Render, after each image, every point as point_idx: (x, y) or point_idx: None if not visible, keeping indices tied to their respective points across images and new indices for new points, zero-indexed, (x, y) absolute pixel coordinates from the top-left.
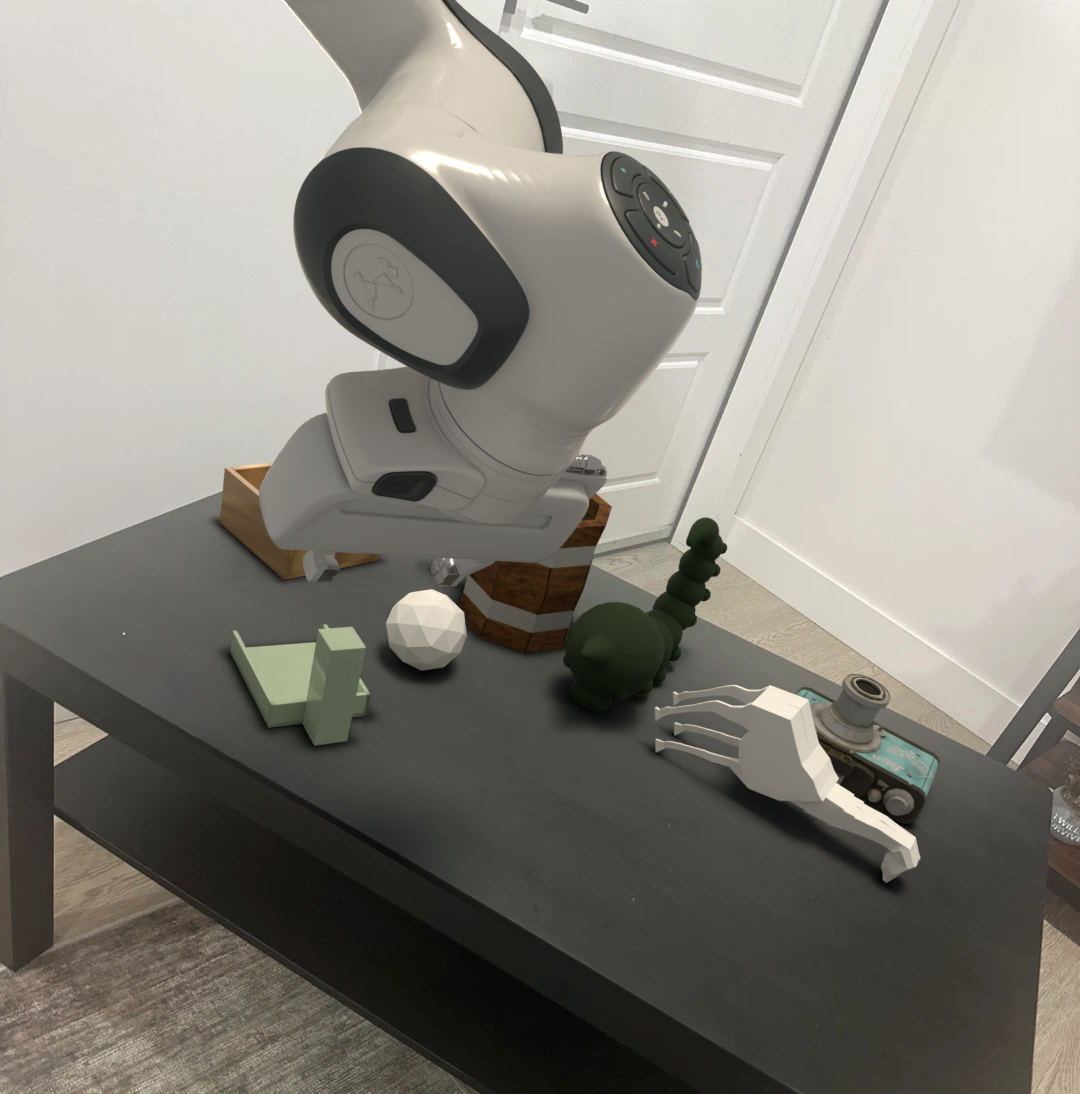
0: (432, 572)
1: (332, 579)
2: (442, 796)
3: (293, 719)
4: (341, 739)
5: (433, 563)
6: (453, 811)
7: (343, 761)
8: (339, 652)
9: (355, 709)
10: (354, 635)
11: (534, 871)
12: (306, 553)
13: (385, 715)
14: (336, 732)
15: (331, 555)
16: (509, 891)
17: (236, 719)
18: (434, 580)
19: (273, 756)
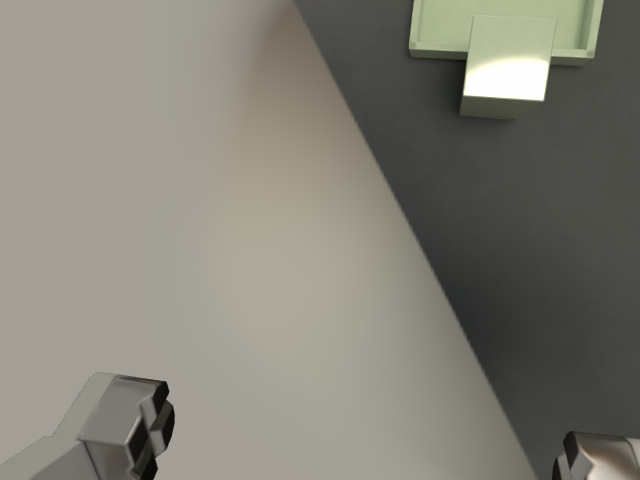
0: (565, 446)
1: (166, 447)
2: (591, 278)
3: (450, 57)
4: (503, 118)
5: (575, 453)
6: (588, 311)
7: (485, 160)
8: (481, 98)
9: (561, 62)
10: (541, 53)
11: None
12: (79, 395)
13: (618, 72)
14: (494, 116)
15: (120, 467)
16: None
17: (376, 25)
18: (557, 459)
19: (392, 120)
